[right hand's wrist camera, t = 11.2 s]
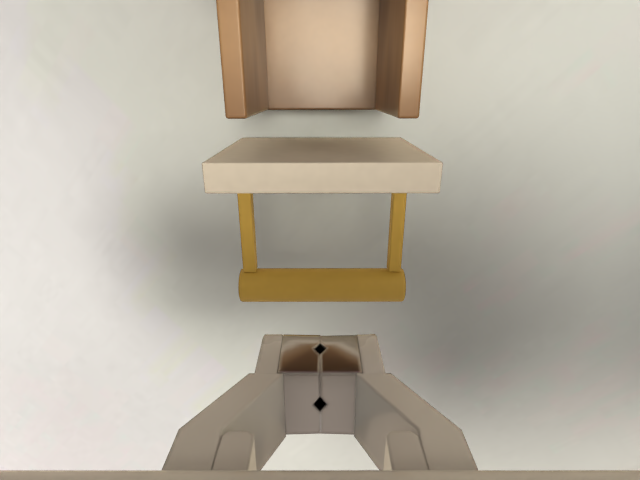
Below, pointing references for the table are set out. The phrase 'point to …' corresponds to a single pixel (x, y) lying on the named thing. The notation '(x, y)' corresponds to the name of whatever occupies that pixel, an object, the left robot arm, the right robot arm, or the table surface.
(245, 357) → the table surface
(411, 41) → the drawer
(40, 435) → the table surface
